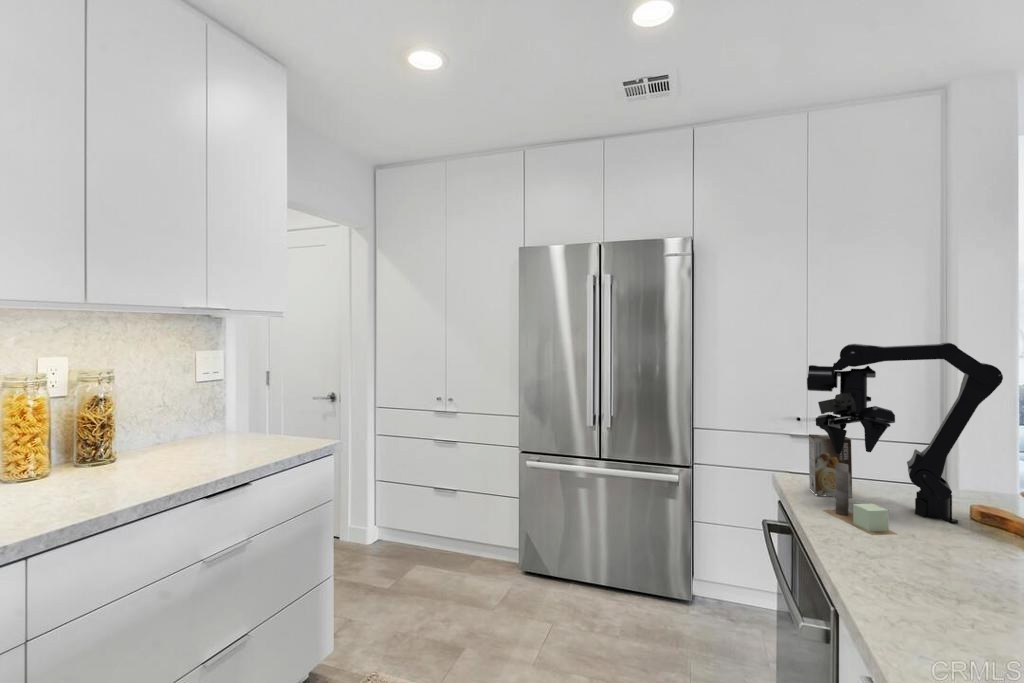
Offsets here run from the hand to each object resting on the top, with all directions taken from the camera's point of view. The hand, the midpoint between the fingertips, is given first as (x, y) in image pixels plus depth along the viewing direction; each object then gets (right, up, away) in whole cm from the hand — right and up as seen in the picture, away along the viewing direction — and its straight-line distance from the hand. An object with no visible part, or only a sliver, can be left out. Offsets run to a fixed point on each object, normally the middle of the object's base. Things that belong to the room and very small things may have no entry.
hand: (852, 453), depth 127 cm
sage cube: (-3, -14, -11) cm, 18 cm away
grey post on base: (-3, -15, -7) cm, 17 cm away
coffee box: (+5, -15, +17) cm, 23 cm away
